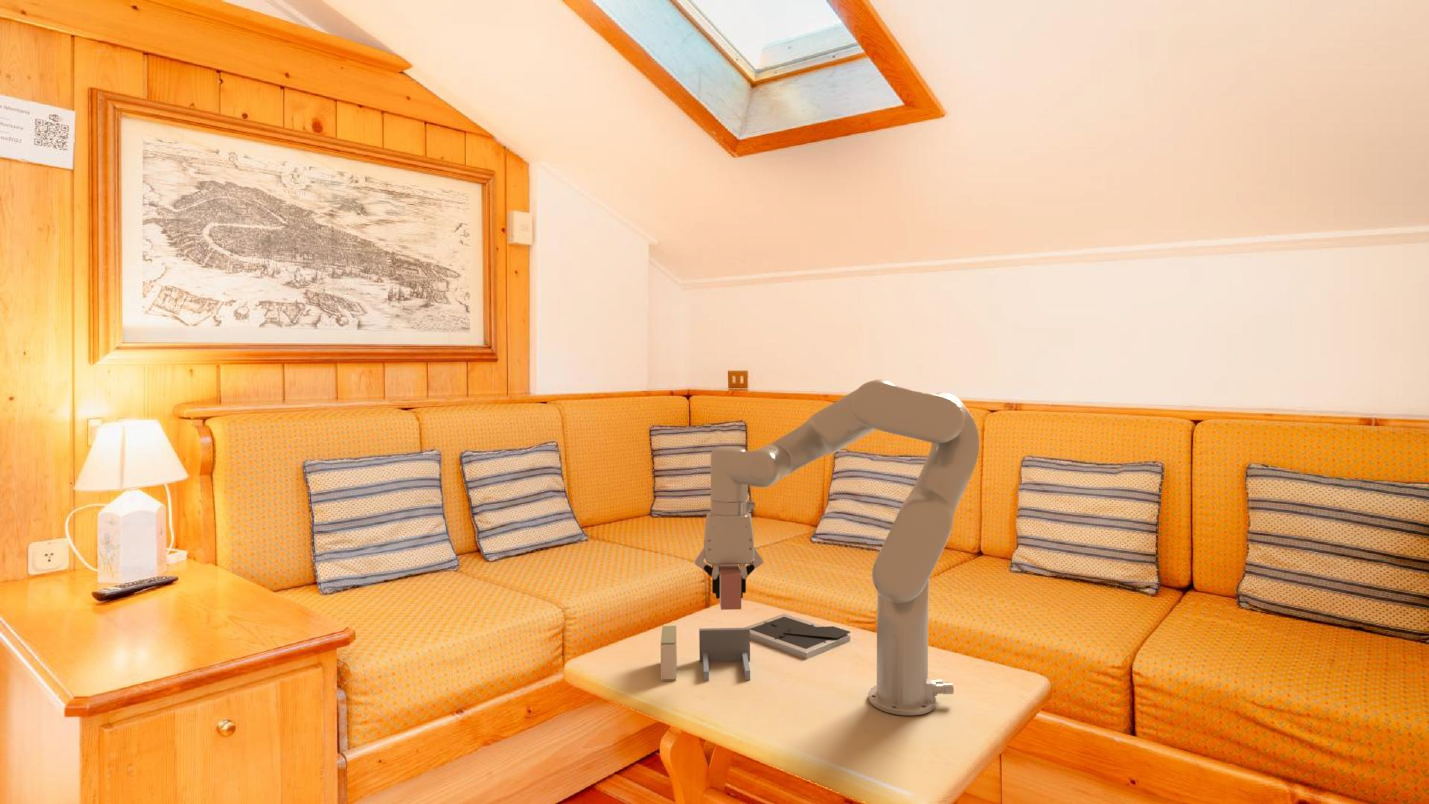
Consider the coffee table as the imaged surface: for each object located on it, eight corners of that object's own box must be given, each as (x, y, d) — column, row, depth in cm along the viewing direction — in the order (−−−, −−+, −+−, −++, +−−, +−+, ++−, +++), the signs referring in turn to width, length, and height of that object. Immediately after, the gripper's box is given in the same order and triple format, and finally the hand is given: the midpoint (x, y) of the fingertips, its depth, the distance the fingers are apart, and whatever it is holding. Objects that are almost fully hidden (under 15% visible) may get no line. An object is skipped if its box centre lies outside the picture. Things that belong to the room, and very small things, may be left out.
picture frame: (850, 643, 182) (783, 621, 197) (850, 631, 181) (783, 610, 197) (806, 662, 171) (739, 637, 186) (806, 649, 171) (739, 626, 186)
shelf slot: (749, 658, 171) (749, 627, 171) (753, 680, 160) (753, 646, 160) (699, 659, 171) (699, 628, 170) (700, 681, 160) (700, 647, 159)
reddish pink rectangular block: (736, 593, 164) (736, 561, 164) (741, 609, 154) (741, 574, 154) (717, 594, 164) (717, 561, 164) (720, 609, 154) (720, 574, 154)
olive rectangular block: (676, 661, 170) (676, 625, 170) (676, 680, 160) (675, 642, 159) (662, 662, 170) (662, 625, 169) (661, 681, 160) (660, 643, 159)
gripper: (767, 503, 162) (767, 590, 164) (687, 504, 161) (687, 591, 163) (772, 511, 155) (772, 601, 156) (688, 512, 154) (688, 603, 155)
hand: (728, 595), depth 159 cm, fingers closed on reddish pink rectangular block, 4 cm apart
